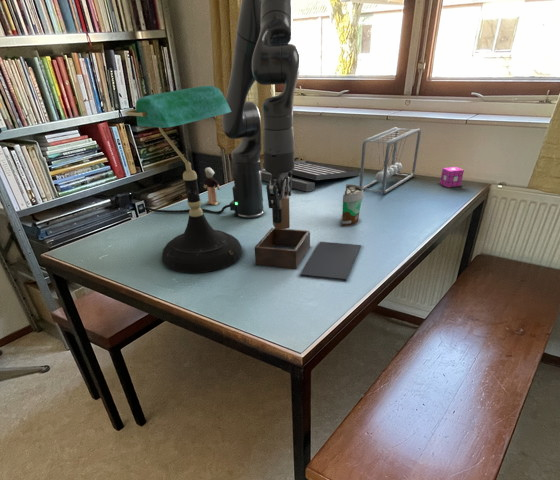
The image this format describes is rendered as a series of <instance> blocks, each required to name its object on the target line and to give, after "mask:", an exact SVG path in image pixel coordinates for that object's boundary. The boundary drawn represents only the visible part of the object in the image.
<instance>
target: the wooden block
mask: <svg viewBox="0 0 560 480" xmlns="http://www.w3.org/2000/svg"><path fill="white" fill-rule="evenodd" d="M280 195H281V194H280ZM280 195H279V194H278V196H280ZM275 203H276V202H275ZM281 208H282V222H281V223H274V222H273V221H272V226H273V228H275V229H276V230H278V229H290V228H291V226H290V225H291V224H290V223H291V222H290V221H291V219H290V218H291V217H290V214H291V213H290V197H289V198H288V196H287V195H286V194H284V199H283V200H282V207H281ZM271 213H272V214H271V215H272V216H271V217H272V219H273V208H271Z"/></svg>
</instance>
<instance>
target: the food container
mask: <svg viewBox="0 0 560 480" xmlns="http://www.w3.org/2000/svg"><path fill="white" fill-rule="evenodd" d="M362 187H363V186H362ZM362 187H360V186H359V185H357V184H351V183H346V184H345V190H344V194H342V215H341V227H350V226H354V225H356V224H358V223H359V219H360V214H361V213H360V212H361V206H362V205H361V204H362V200H363V198H365V193H364V190H363V189H362Z"/></svg>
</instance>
